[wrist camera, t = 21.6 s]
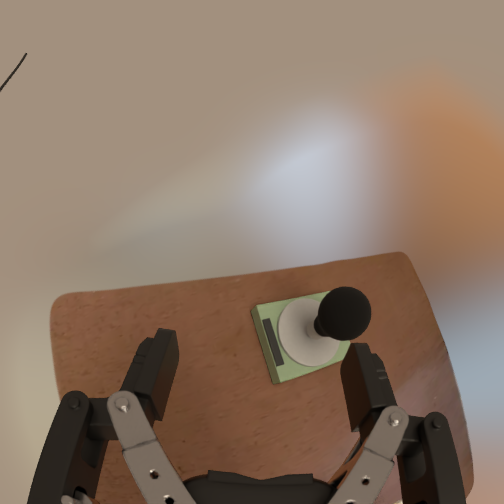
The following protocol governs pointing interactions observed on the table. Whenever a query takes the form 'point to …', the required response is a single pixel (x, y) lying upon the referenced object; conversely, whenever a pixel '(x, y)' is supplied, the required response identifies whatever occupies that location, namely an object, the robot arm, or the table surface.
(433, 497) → the robot arm
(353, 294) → the light bulb
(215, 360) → the table surface
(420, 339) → the table surface
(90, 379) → the table surface
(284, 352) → the scale
